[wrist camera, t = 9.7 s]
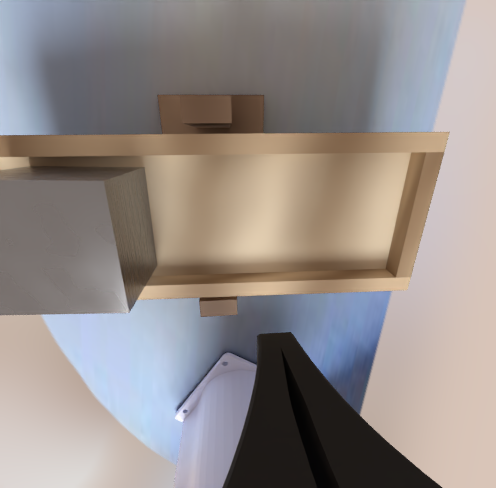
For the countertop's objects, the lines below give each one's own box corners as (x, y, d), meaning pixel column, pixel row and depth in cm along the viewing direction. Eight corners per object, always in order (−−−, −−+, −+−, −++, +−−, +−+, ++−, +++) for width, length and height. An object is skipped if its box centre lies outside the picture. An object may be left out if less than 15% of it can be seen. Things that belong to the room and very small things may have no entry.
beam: (412, 132, 13) (449, 132, 11) (382, 268, 16) (407, 290, 14) (-5, 136, 12) (-60, 135, 10) (46, 279, 15) (13, 304, 13)
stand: (262, 97, 16) (281, 74, 10) (260, 272, 20) (272, 322, 15) (160, 96, 15) (123, 73, 10) (182, 275, 20) (165, 329, 14)
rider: (144, 167, 12) (103, 180, 8) (157, 265, 14) (129, 312, 10) (29, 165, 11) (-68, 179, 8) (59, 266, 13) (-7, 315, 10)
